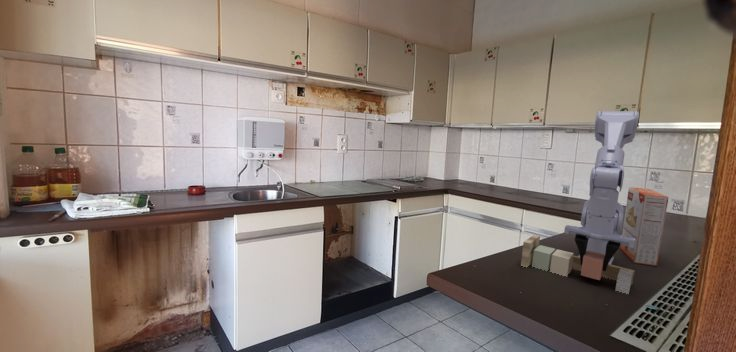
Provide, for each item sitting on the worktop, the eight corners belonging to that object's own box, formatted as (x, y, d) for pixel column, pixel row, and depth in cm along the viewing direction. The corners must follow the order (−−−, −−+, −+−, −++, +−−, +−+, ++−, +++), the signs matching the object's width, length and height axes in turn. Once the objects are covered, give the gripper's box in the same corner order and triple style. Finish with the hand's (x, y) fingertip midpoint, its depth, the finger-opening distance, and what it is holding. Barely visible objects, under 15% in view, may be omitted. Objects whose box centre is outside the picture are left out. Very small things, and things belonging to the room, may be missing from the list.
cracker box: (618, 248, 111) (628, 186, 108) (640, 251, 109) (651, 188, 106) (632, 263, 98) (643, 193, 95) (657, 267, 96) (670, 196, 93)
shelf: (532, 256, 100) (534, 234, 99) (632, 283, 84) (636, 257, 83) (520, 266, 92) (523, 242, 91) (629, 298, 76) (633, 269, 75)
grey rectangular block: (617, 283, 84) (620, 268, 84) (630, 286, 83) (632, 271, 82) (615, 291, 80) (617, 275, 79) (628, 295, 78) (631, 279, 78)
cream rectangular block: (555, 266, 94) (557, 249, 93) (571, 270, 91) (573, 253, 90) (549, 272, 89) (552, 254, 88) (566, 277, 86) (569, 259, 86)
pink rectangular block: (585, 268, 88) (587, 250, 88) (603, 273, 86) (606, 254, 85) (580, 275, 84) (583, 256, 83) (599, 280, 81) (602, 261, 81)
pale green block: (537, 261, 96) (539, 245, 96) (553, 265, 94) (555, 248, 93) (531, 267, 92) (533, 250, 91) (547, 271, 89) (549, 254, 89)
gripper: (564, 211, 85) (557, 262, 87) (637, 224, 75) (627, 281, 77) (570, 207, 90) (563, 255, 92) (638, 219, 80) (630, 272, 82)
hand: (593, 266), depth 85 cm, fingers closed on pink rectangular block, 4 cm apart
